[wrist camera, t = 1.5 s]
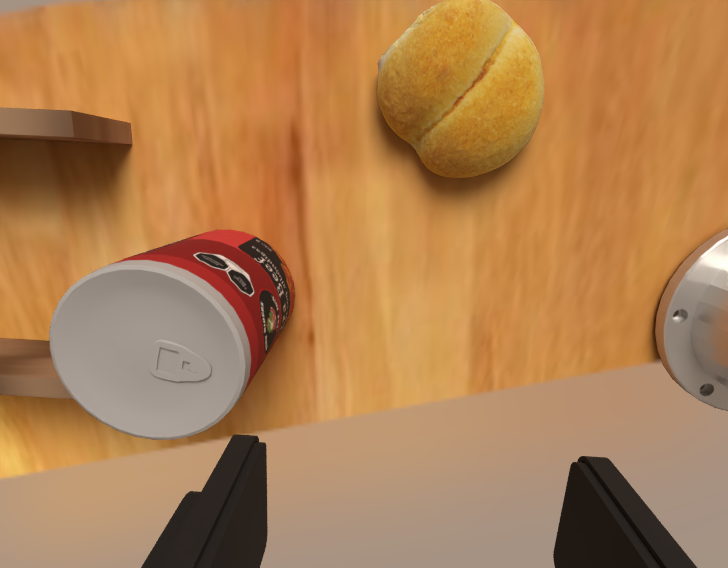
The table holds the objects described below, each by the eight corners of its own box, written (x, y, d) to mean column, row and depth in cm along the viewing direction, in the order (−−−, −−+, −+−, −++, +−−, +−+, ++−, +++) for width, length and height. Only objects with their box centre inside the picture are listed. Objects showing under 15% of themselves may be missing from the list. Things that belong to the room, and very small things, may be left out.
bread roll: (459, 203, 26) (473, 208, 22) (354, 92, 24) (350, 76, 21) (567, 99, 24) (603, 84, 20) (461, -26, 23) (478, -68, 19)
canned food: (300, 342, 28) (253, 444, 18) (182, 341, 28) (65, 441, 18) (295, 227, 26) (238, 262, 16) (168, 227, 27) (27, 262, 16)
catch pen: (130, 122, 25) (71, 110, 20) (151, 362, 29) (105, 400, 24) (-89, 113, 25) (-199, 98, 20) (-39, 352, 29) (-122, 387, 24)
